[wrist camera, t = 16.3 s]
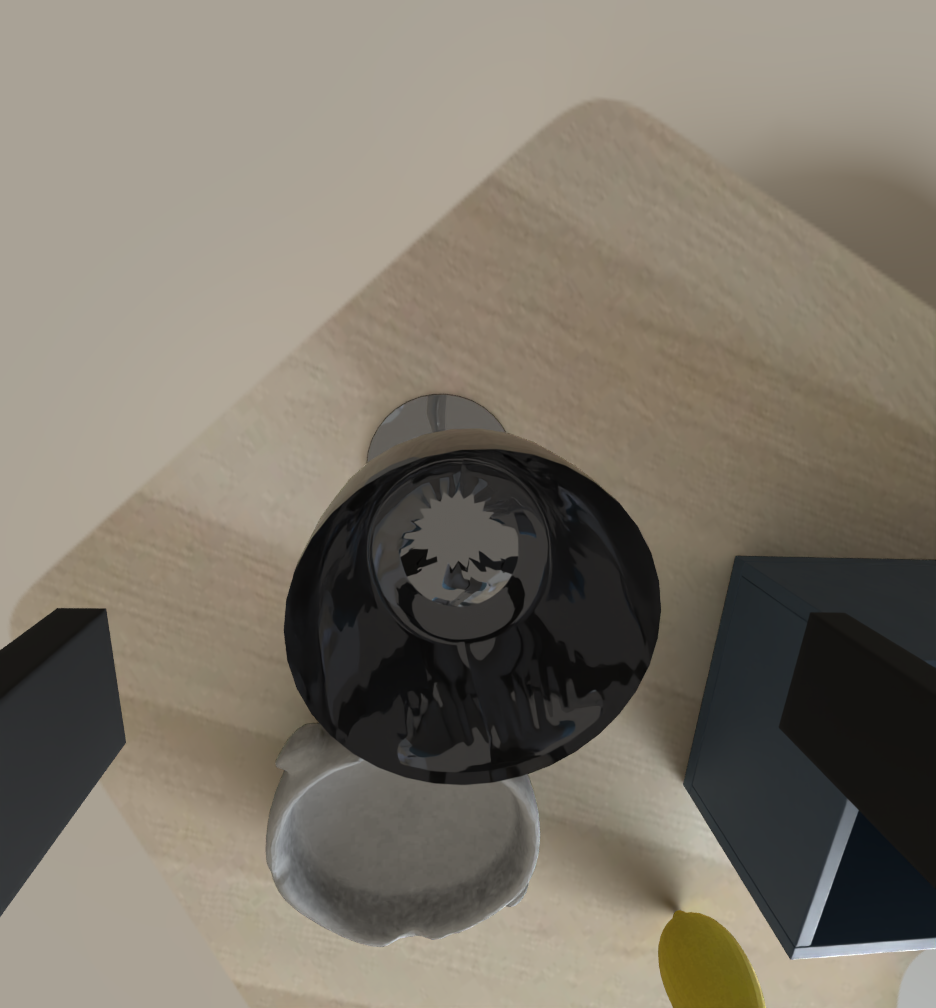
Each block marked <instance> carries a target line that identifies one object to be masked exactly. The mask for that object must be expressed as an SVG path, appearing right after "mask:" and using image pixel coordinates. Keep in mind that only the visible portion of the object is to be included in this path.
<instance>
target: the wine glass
mask: <svg viewBox="0 0 936 1008" xmlns="http://www.w3.org/2000/svg"><path fill="white" fill-rule="evenodd" d="M660 614H661V602H660V588H659V580H658V576H657V572H656V569H655V565H654V561H653V558H652V554H651V552H650V550H649V548H648V546H647V544H646V542H645V540H644V538H643V536H642V534H641V532H640V530H639V528H638V526H637V525H636V524H635V522H634V521H633V520H632V519H631V517H630V516H629V515H628V514H627V512H626V511H625V510H624V508H623V507H622V506H621V505H620V503H619V502H618V501H617V500H616V499H615V498H614V497H613V496H612V495H611V494H609V493H608V492H607V491H606V490H605V489H604V488H602V487H601V486H600V485H599V484H598V483H597V482H595V481H594V480H593V479H592V478H591V477H590V476H588V475H587V474H586V473H584V472H583V471H582V470H581V469H579V468H578V467H577V466H576V465H574V464H572V463H570V462H569V461H567V460H565V459H563V458H562V457H560V456H558V455H556V454H555V453H553V452H551V451H549V450H548V449H546V448H544V447H542V446H541V445H539V444H537V443H535V442H533V441H530V440H527V439H524V438H521V437H518V436H515V435H513V434H510V433H506V432H505V430H504V429H503V427H502V425H501V424H500V423H499V422H498V420H497V419H496V418H495V417H494V415H492V414H491V413H490V412H489V411H488V410H486V409H485V408H484V407H482V406H481V405H479V404H477V403H476V402H474V401H472V400H469V399H466V398H463V397H461V396H456V395H450V394H432V395H426V396H421V397H418V398H415V399H413V400H410V401H408V402H406V403H404V404H403V405H401V406H399V407H398V408H396V409H395V410H394V411H393V412H392V413H390V414H389V415H388V416H387V417H386V418H385V419H384V421H383V422H382V423H381V425H380V426H379V427H378V429H377V431H376V433H375V434H374V436H373V438H372V441H371V444H370V447H369V450H368V457H367V464H366V465H365V466H364V467H363V468H361V469H360V470H359V471H358V472H357V473H356V474H355V475H353V476H352V477H351V478H350V479H349V480H348V481H347V483H346V484H345V485H344V487H343V488H342V489H341V490H340V492H339V493H338V494H337V495H336V497H335V498H334V499H333V501H332V502H331V503H330V505H329V506H328V507H327V509H326V510H325V512H324V513H323V515H322V516H321V517H320V519H319V521H318V523H317V525H316V527H315V529H314V531H313V533H312V535H311V537H310V539H309V541H308V543H307V545H306V546H305V548H304V550H303V552H302V554H301V556H300V558H299V560H298V563H297V566H296V569H295V572H294V575H293V579H292V582H291V586H290V589H289V592H288V596H287V599H286V610H285V622H284V636H285V645H286V653H287V661H288V664H289V667H290V670H291V672H292V675H293V678H294V681H295V684H296V687H297V689H298V691H299V693H300V695H301V696H302V698H303V700H304V702H305V703H306V705H307V707H308V709H309V710H310V712H311V714H312V715H313V716H314V717H315V718H316V719H317V721H318V722H319V723H320V724H321V725H322V726H323V728H324V729H325V730H326V731H327V732H328V733H329V735H330V736H332V737H333V738H334V739H335V740H337V741H338V742H339V743H340V744H342V745H343V746H344V747H345V748H346V749H348V750H349V751H350V752H351V753H353V754H354V755H356V756H358V757H360V758H362V759H363V760H365V761H367V762H369V763H371V764H372V765H374V766H376V767H378V768H380V769H383V770H386V771H388V772H391V773H394V774H397V775H399V776H402V777H405V778H409V779H414V780H419V781H424V782H429V783H434V784H452V785H472V784H483V783H494V782H498V781H503V780H507V779H511V778H516V777H520V776H524V775H526V774H529V773H532V772H534V771H537V770H540V769H542V768H545V767H548V766H550V765H552V764H554V763H556V762H557V761H559V760H561V759H563V758H565V757H567V756H568V755H570V754H572V753H574V752H576V751H577V750H578V749H580V748H581V747H582V746H584V745H585V744H586V743H588V742H589V741H591V740H592V739H593V738H595V737H596V736H597V735H599V734H600V733H601V732H602V731H603V730H604V729H605V728H606V727H607V726H608V725H609V724H610V723H611V722H612V721H613V720H614V719H615V718H616V717H617V716H618V715H619V714H620V712H621V711H622V710H623V708H624V707H625V705H626V704H627V703H628V701H629V700H630V699H631V697H632V696H633V695H634V693H635V692H636V690H637V688H638V686H639V684H640V682H641V681H642V679H643V677H644V675H645V673H646V671H647V669H648V667H649V665H650V661H651V658H652V655H653V652H654V648H655V645H656V642H657V639H658V631H659V623H660Z"/></svg>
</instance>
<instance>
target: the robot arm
mask: <svg viewBox="0 0 936 1008" xmlns="http://www.w3.org/2000/svg"><path fill="white" fill-rule="evenodd" d="M779 729H780V730H781V731H782V732H783V733H784V734H785V735H786V736H787V737H788V738H789V739H790V740H791V741H792V742H793V743H794V744H795V745H796V746H797V747H798V748H799V749H800V750H801V751H802V752H803V753H804V754H805V755H806V756H807V757H808V758H809V759H810V760H811V762H812V763H813V764H814V765H815V766H816V767H817V768H818V769H819V770H820V771H821V772H822V773H823V774H824V775H825V776H826V777H827V778H828V779H829V780H830V781H831V782H832V783H833V784H834V785H835V786H836V787H837V788H838V789H839V790H840V791H841V792H842V793H843V795H844V796H845V797H846V798H847V799H848V800H849V801H850V802H851V803H852V804H853V805H854V806H855V807H856V808H857V809H858V810H859V811H860V812H861V813H862V814H863V815H864V816H865V817H866V818H867V819H868V820H869V821H870V822H871V823H872V824H873V825H874V827H875V828H876V829H877V830H878V831H879V832H880V833H881V834H882V835H883V836H884V837H885V838H886V839H887V840H888V841H889V842H890V843H891V844H892V845H893V846H894V847H895V848H896V849H897V850H898V851H899V852H900V853H901V854H902V855H903V856H904V857H905V858H906V860H907V861H908V862H909V863H910V864H911V865H912V866H913V867H914V868H915V869H916V870H917V871H918V872H919V873H920V874H921V875H922V876H923V877H924V878H925V879H926V880H927V881H928V882H929V883H930V884H931V885H932V886H933V887H934V888H935V889H936V668H935V667H933V666H932V665H930V664H928V663H927V662H925V661H923V660H922V659H920V658H919V657H917V656H915V655H914V654H912V653H910V652H909V651H907V650H905V649H904V648H902V647H901V646H899V645H897V644H896V643H894V642H892V641H891V640H889V639H887V638H886V637H884V636H882V635H881V634H879V633H878V632H876V631H874V630H873V629H871V628H869V627H868V626H866V625H864V624H863V623H861V622H859V621H858V620H856V619H855V618H853V617H851V616H850V615H848V614H846V613H835V612H810V615H809V618H808V622H807V626H806V629H805V633H804V637H803V640H802V644H801V647H800V651H799V655H798V658H797V662H796V666H795V669H794V673H793V676H792V680H791V684H790V687H789V691H788V695H787V698H786V702H785V705H784V709H783V713H782V716H781V720H780V724H779ZM125 743H126V739H125V733H124V726H123V719H122V712H121V706H120V699H119V692H118V685H117V679H116V672H115V665H114V659H113V652H112V645H111V638H110V632H109V625H108V618H107V611H106V609H91V608H57V609H56V610H54V611H53V612H52V613H50V614H49V615H47V616H46V617H45V618H43V619H42V620H41V621H39V622H38V623H37V624H35V625H34V626H33V627H31V628H30V629H28V630H27V631H26V632H24V633H23V634H22V635H20V636H19V637H18V638H16V639H15V640H14V641H12V642H11V643H9V644H8V645H7V646H5V647H4V648H3V649H1V650H0V916H1V915H2V914H3V912H4V911H5V909H6V908H7V907H8V905H9V904H10V903H11V901H12V900H13V898H14V897H15V896H16V894H17V893H18V892H19V890H20V889H21V887H22V886H23V884H24V883H25V882H26V880H27V879H28V878H29V876H30V875H31V873H32V872H33V871H34V869H35V868H36V867H37V865H38V864H39V862H40V861H41V860H42V858H43V857H44V855H45V854H46V853H47V851H48V850H49V849H50V847H51V846H52V844H53V843H54V842H55V840H56V839H57V837H58V836H59V835H60V833H61V832H62V830H63V829H64V828H65V826H66V825H67V824H68V822H69V821H70V819H71V818H72V816H73V815H74V814H75V812H76V811H77V810H78V808H79V807H80V806H81V804H82V803H83V801H84V800H85V799H86V797H87V796H88V794H89V793H90V792H91V790H92V789H93V787H94V786H95V785H96V783H97V782H98V781H99V779H100V778H101V777H102V775H103V774H104V772H105V771H106V770H107V768H108V767H109V765H110V764H111V763H112V761H113V760H114V759H115V757H116V756H117V754H118V753H119V752H120V750H121V749H122V747H123V746H124V745H125Z"/></svg>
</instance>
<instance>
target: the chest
mask: <svg viewBox="0 0 936 1008" xmlns="http://www.w3.org/2000/svg"><path fill="white" fill-rule="evenodd" d="M810 612H835V613H846V614H848V615H850V616H851V617H853V618H855V619H856V620H858V621H859V622H861V623H863V624H864V625H866V626H868V627H869V628H871V629H873V630H874V631H876V632H878V633H879V634H881V635H882V636H884V637H886V638H887V639H889V640H891V641H892V642H894V643H896V644H897V645H899V646H901V647H902V648H904V649H905V650H907V651H909V652H910V653H912V654H914V655H915V656H917V657H919V658H920V659H922V660H923V661H925V662H927V663H928V664H930V665H932V666H933V667H935V668H936V560H912V559H863V558H814V557H766V556H735V561H734V565H733V570H732V574H731V578H730V583H729V587H728V591H727V596H726V600H725V604H724V609H723V613H722V617H721V622H720V626H719V631H718V635H717V639H716V644H715V648H714V652H713V657H712V661H711V665H710V670H709V674H708V679H707V683H706V687H705V692H704V696H703V700H702V705H701V709H700V713H699V718H698V722H697V726H696V731H695V735H694V740H693V744H692V748H691V753H690V757H689V761H688V766H687V770H686V774H685V779H684V783H683V785H684V787H685V789H686V790H687V792H688V793H689V795H690V797H691V798H692V800H693V801H694V803H695V805H696V806H697V808H698V810H699V811H700V813H701V814H702V816H703V818H704V819H705V821H706V823H707V824H708V826H709V828H710V829H711V831H712V832H713V834H714V836H715V837H716V839H717V841H718V842H719V844H720V845H721V847H722V849H723V850H724V852H725V854H726V855H727V857H728V859H729V860H730V862H731V863H732V865H733V867H734V868H735V870H736V872H737V873H738V875H739V876H740V878H741V880H742V881H743V883H744V885H745V886H746V888H747V890H748V891H749V893H750V894H751V896H752V898H753V899H754V901H755V903H756V904H757V906H758V907H759V909H760V911H761V912H762V914H763V916H764V917H765V919H766V921H767V922H768V924H769V925H770V927H771V929H772V930H773V932H774V934H775V935H776V937H777V938H778V940H779V942H780V943H781V945H782V947H783V948H784V950H785V952H786V953H787V955H788V956H789V958H790V959H791V960H793V959H806V958H819V957H832V956H845V955H858V954H871V953H884V952H897V951H910V950H924V949H936V889H935V888H934V887H933V886H932V885H931V884H930V883H929V882H928V881H927V880H926V879H925V878H924V877H923V876H922V875H921V874H920V873H919V872H918V871H917V870H916V869H915V868H914V867H913V866H912V865H911V864H910V863H909V862H908V861H907V860H906V858H905V857H904V856H903V855H902V854H901V853H900V852H899V851H898V850H897V849H896V848H895V847H894V846H893V845H892V844H891V843H890V842H889V841H888V840H887V839H886V838H885V837H884V836H883V835H882V834H881V833H880V832H879V831H878V830H877V829H876V828H875V827H874V825H873V824H872V823H871V822H870V821H869V820H868V819H867V818H866V817H865V816H864V815H863V814H862V813H861V812H860V811H859V810H858V809H857V808H856V807H855V806H854V805H853V804H852V803H851V802H850V801H849V800H848V799H847V798H846V797H845V796H844V795H843V793H842V792H841V791H840V790H839V789H838V788H837V787H836V786H835V785H834V784H833V783H832V782H831V781H830V780H829V779H828V778H827V777H826V776H825V775H824V774H823V773H822V772H821V771H820V770H819V769H818V768H817V767H816V766H815V765H814V764H813V763H812V762H811V760H810V759H809V758H808V757H807V756H806V755H805V754H804V753H803V752H802V751H801V750H800V749H799V748H798V747H797V746H796V745H795V744H794V743H793V742H792V741H791V740H790V739H789V738H788V737H787V736H786V735H785V734H784V733H783V732H782V731H781V730H780V729H779V724H780V720H781V716H782V713H783V709H784V705H785V702H786V698H787V695H788V691H789V687H790V684H791V680H792V676H793V673H794V669H795V666H796V662H797V658H798V655H799V651H800V647H801V644H802V640H803V637H804V633H805V629H806V626H807V622H808V618H809V615H810Z"/></svg>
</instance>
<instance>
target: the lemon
mask: <svg viewBox="0 0 936 1008" xmlns="http://www.w3.org/2000/svg"><path fill="white" fill-rule="evenodd" d="M658 957H659V968H660V973H661V978H662V981H663V984H664V987H665V990H666V993H667V995H668V997H669V1000H670V1002H671V1004H672V1006H673V1008H766V1007H765V1001H764V997H763V993H762V990H761V987H760V984H759V981H758V979H757V976H756V974H755V971H754V969H753V967H752V965H751V963H750V961H749V959H748V958H747V956H746V954H745V953H744V951H743V949H742V948H741V946H740V945H739V943H738V942H737V941H736V939H735V938H734V937H733V936H732V934H731V933H730V932H729V931H728V930H727V929H726V928H725V927H723V926H722V925H721V924H719V923H718V922H717V921H716V920H714V919H712V918H711V917H708V916H706V915H703V914H700V913H692V912H689V913H686V912H683V911H681V910H678V911H676V912H675V913H674V915H673V918H672V919H671V920H670V921H669V922H668V923H667V925H666V926H665V928H664V929H663V932H662V934H661V937H660V941H659V947H658Z"/></svg>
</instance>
